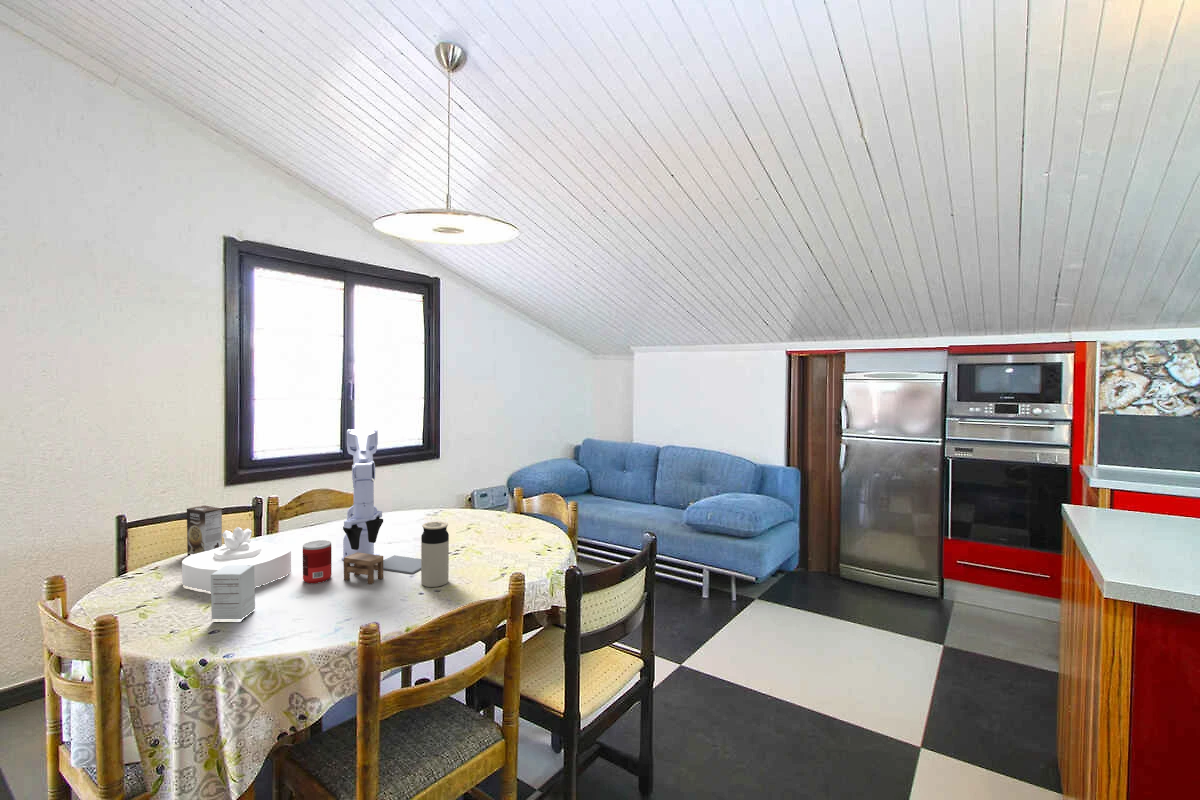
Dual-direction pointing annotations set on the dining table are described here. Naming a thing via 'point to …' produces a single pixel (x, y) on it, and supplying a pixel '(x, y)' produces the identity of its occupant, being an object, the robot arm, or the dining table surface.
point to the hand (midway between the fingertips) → (363, 545)
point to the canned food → (317, 561)
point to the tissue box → (237, 560)
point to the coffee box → (203, 529)
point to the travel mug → (434, 554)
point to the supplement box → (232, 592)
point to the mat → (402, 564)
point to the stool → (363, 565)
